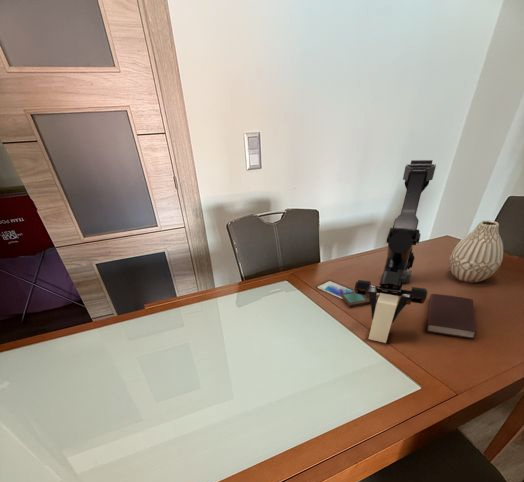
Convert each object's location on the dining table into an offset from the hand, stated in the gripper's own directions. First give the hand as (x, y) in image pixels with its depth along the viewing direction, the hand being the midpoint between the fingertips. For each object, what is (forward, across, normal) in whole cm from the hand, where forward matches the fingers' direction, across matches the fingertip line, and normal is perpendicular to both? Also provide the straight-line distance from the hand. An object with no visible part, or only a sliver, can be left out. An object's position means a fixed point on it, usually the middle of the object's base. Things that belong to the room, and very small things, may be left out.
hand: (382, 320), depth 85 cm
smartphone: (-12, -18, +23) cm, 32 cm away
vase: (-30, +25, +40) cm, 56 cm away
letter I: (+4, 0, +6) cm, 7 cm away
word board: (-12, -8, +21) cm, 25 cm away
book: (-8, +19, +18) cm, 27 cm away
